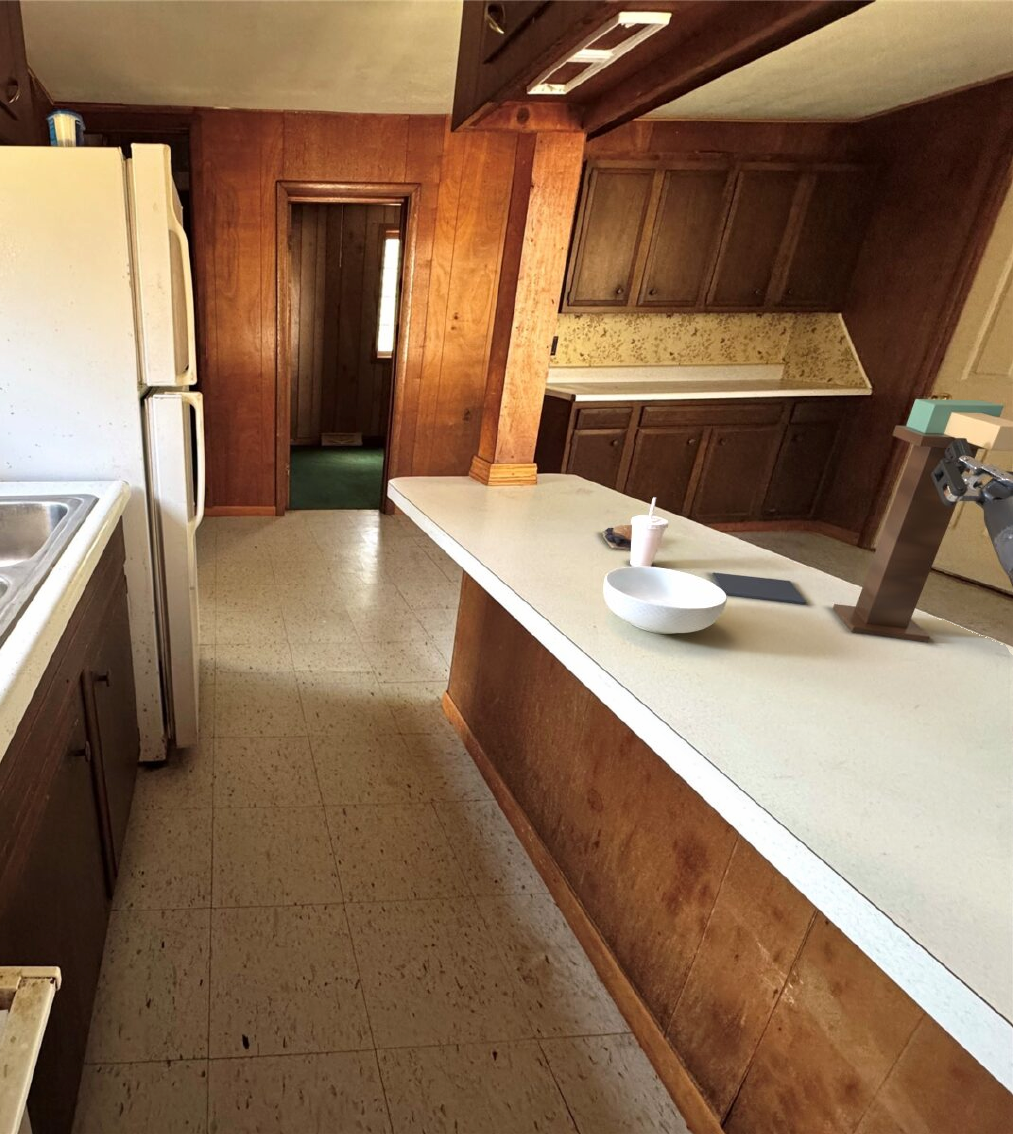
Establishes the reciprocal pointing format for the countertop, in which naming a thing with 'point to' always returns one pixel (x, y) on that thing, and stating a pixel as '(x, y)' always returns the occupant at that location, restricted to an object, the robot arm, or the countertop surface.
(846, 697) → the countertop surface
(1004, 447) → the two-tone toy blocks
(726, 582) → the slate mat
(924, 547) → the walnut stand
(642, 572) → the cereal bowl
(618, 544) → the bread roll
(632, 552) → the smoothie
